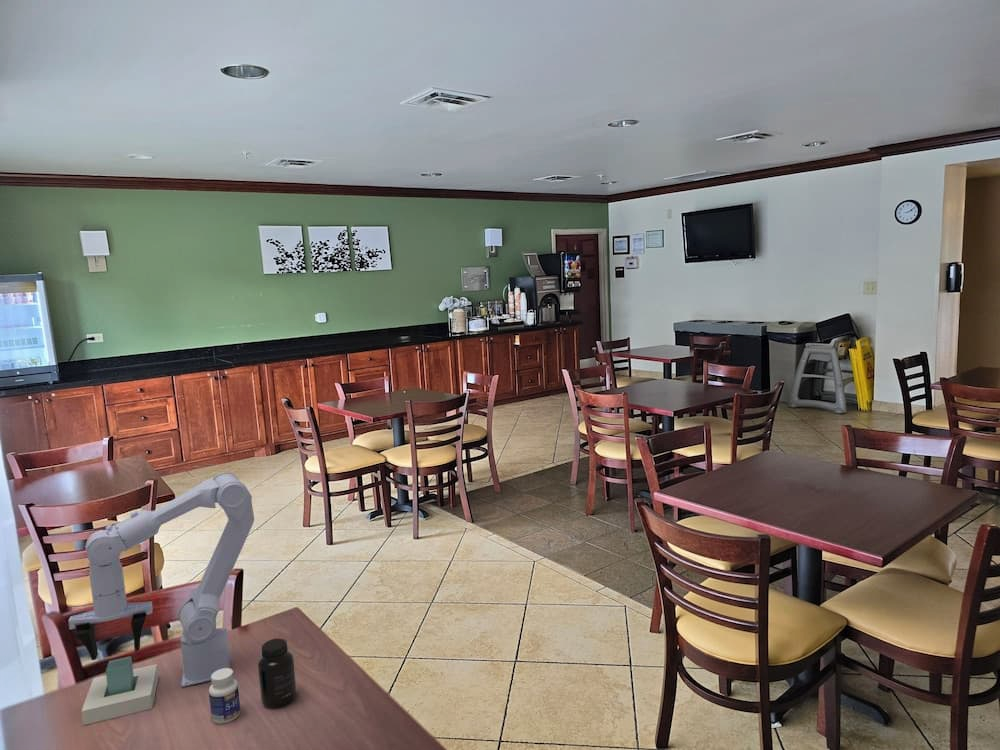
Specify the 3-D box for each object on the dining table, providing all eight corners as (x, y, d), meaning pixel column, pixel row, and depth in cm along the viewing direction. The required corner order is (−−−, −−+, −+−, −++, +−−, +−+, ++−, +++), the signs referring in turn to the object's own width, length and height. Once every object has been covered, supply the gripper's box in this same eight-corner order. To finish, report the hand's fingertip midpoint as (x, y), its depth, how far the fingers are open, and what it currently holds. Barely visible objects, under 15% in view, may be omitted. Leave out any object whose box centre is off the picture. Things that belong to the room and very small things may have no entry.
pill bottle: (230, 725, 126) (225, 683, 125) (206, 723, 127) (201, 680, 126) (246, 708, 131) (241, 667, 130) (222, 706, 132) (218, 665, 131)
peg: (135, 691, 138) (131, 656, 137) (132, 702, 135) (128, 666, 134) (114, 696, 137) (109, 660, 136) (110, 707, 133) (105, 671, 132)
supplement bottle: (255, 700, 134) (249, 645, 132) (286, 684, 138) (281, 631, 137) (272, 714, 129) (266, 657, 127) (303, 697, 134) (298, 642, 132)
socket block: (158, 676, 143) (157, 664, 143) (152, 708, 132) (150, 694, 132) (95, 691, 139) (93, 678, 139) (83, 725, 128) (81, 711, 128)
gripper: (151, 575, 139) (158, 635, 141) (71, 589, 134) (79, 651, 135) (146, 588, 132) (154, 651, 134) (62, 604, 127) (71, 669, 129)
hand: (116, 653), depth 134 cm, fingers open, 7 cm apart
